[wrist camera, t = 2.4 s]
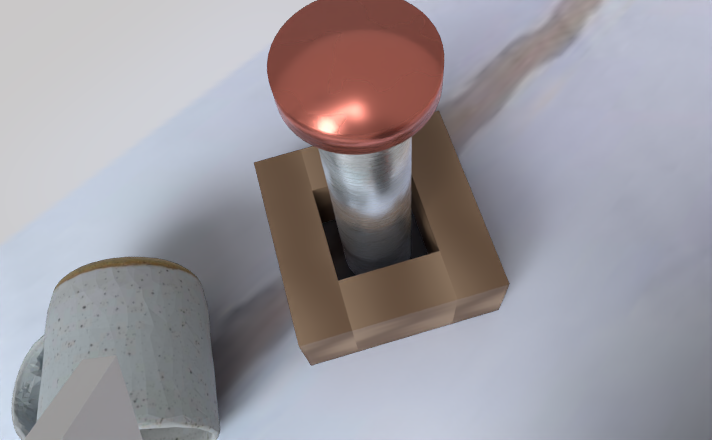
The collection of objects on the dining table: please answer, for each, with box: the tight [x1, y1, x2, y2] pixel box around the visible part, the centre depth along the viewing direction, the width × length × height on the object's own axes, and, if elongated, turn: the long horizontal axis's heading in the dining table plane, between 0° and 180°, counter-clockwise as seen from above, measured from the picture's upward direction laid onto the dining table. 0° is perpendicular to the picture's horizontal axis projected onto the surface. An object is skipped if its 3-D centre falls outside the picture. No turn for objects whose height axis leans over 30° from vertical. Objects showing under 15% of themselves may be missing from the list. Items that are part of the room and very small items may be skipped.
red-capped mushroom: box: [267, 0, 444, 275], centre depth 28 cm, size 6×6×16 cm
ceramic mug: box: [12, 257, 220, 440], centre depth 30 cm, size 11×8×8 cm
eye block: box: [254, 111, 509, 365], centre depth 33 cm, size 10×10×4 cm
